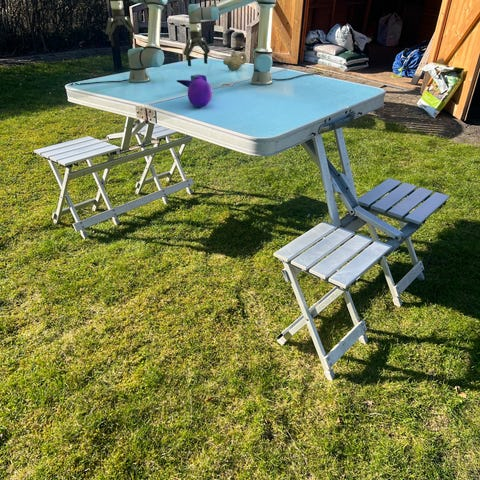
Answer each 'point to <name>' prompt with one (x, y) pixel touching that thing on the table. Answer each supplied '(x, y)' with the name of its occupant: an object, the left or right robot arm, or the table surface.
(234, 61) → the teapot
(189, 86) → the toy
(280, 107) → the table surface
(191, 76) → the brick
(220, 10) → the right robot arm
